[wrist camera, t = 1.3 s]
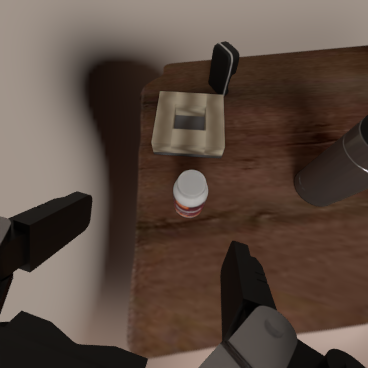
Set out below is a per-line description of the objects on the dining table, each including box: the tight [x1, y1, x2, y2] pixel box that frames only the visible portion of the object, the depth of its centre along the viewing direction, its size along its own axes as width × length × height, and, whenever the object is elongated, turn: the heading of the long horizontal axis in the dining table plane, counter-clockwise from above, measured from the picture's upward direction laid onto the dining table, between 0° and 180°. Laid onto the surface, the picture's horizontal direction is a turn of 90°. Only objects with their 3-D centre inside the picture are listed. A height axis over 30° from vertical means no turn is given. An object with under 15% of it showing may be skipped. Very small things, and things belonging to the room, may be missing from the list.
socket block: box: [152, 91, 225, 158], centre depth 46 cm, size 16×16×4 cm
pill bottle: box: [173, 170, 208, 217], centre depth 35 cm, size 6×6×11 cm
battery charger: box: [209, 42, 239, 96], centre depth 50 cm, size 7×4×11 cm, turn 31°
